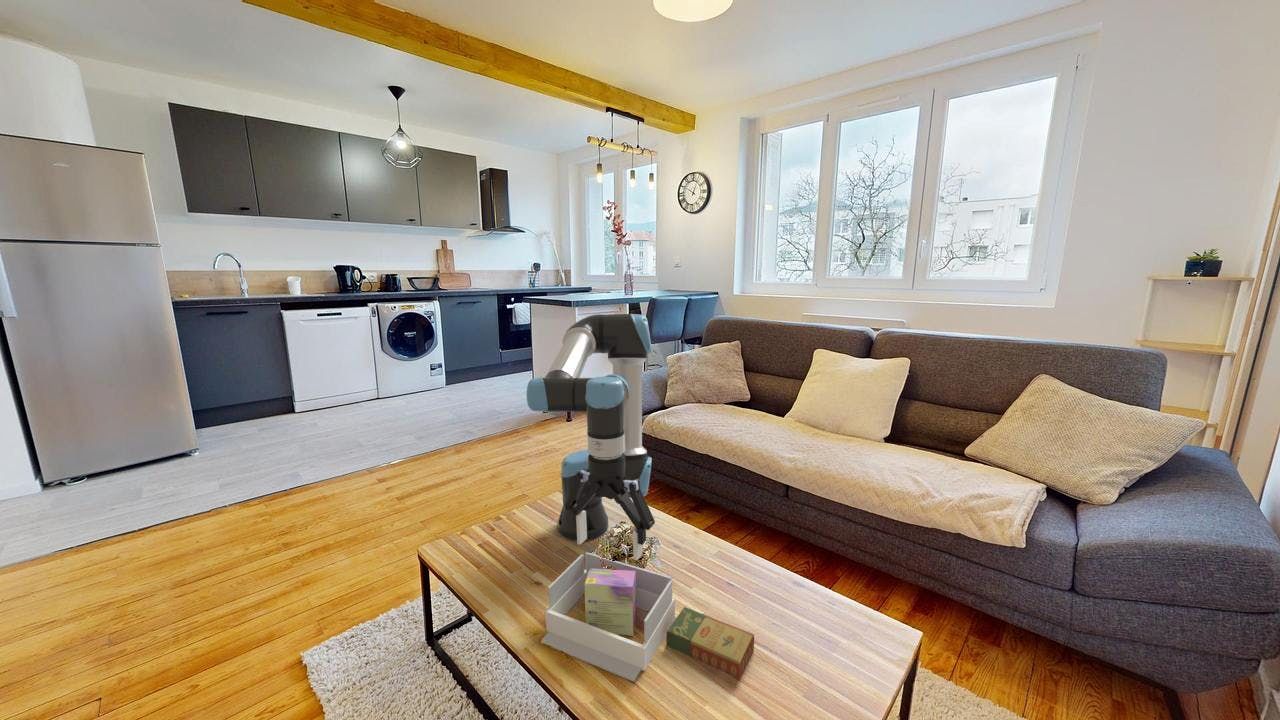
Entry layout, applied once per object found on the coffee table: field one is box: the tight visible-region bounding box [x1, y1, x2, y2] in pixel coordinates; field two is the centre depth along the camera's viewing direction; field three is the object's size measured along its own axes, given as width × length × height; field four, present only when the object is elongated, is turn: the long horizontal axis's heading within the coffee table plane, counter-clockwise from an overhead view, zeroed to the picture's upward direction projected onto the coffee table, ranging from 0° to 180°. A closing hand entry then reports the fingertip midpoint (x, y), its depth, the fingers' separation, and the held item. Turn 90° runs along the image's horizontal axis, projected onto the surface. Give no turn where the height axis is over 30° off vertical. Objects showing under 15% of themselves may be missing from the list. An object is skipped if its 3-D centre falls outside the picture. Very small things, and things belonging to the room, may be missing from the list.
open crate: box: [541, 551, 676, 683], centre depth 99 cm, size 24×19×10 cm
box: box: [584, 568, 637, 637], centre depth 101 cm, size 10×6×12 cm, turn 84°
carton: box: [665, 606, 755, 681], centre depth 95 cm, size 8×16×4 cm, turn 58°
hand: (609, 548), depth 98 cm, fingers open, 13 cm apart
